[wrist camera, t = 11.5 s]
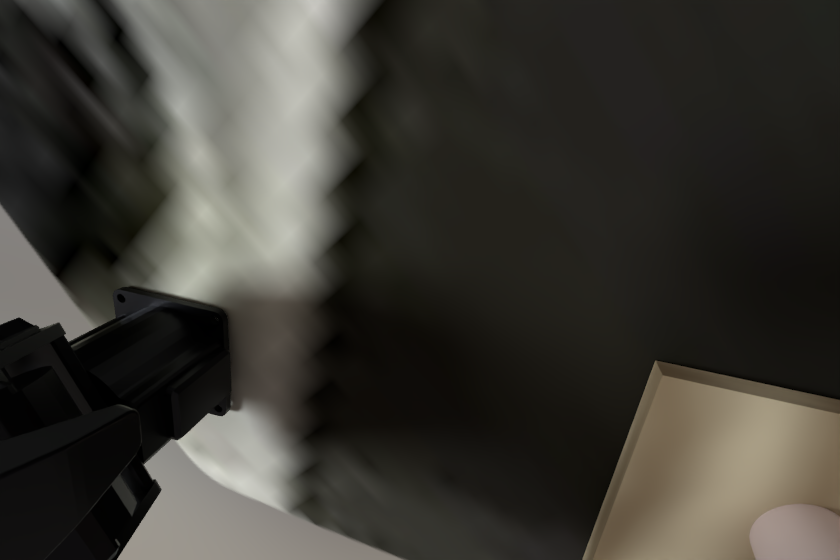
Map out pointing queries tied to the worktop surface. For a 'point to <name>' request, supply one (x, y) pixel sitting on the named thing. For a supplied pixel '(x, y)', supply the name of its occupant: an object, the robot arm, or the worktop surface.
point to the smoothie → (796, 534)
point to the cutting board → (714, 466)
